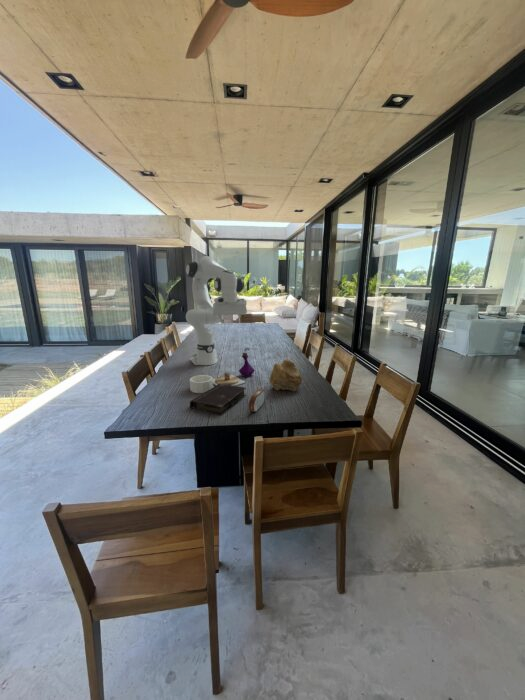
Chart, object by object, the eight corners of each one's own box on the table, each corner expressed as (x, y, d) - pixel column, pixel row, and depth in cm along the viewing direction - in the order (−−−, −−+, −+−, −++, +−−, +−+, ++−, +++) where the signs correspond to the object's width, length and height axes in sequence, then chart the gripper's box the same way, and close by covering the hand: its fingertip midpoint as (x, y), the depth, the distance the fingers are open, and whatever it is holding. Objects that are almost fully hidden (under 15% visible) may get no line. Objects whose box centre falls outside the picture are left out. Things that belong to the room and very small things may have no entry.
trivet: (208, 380, 177) (208, 380, 177) (231, 375, 186) (231, 374, 186) (222, 389, 165) (222, 388, 165) (245, 383, 174) (245, 382, 174)
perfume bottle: (247, 378, 182) (247, 350, 178) (238, 375, 186) (237, 348, 182) (255, 375, 188) (255, 347, 183) (246, 372, 192) (245, 345, 188)
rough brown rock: (293, 399, 154) (296, 372, 150) (264, 391, 161) (267, 365, 157) (307, 386, 174) (310, 362, 170) (281, 379, 181) (284, 356, 177)
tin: (260, 401, 149) (260, 385, 147) (266, 402, 148) (266, 386, 146) (248, 414, 136) (248, 397, 134) (254, 415, 135) (254, 398, 132)
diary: (189, 409, 141) (188, 399, 140) (217, 391, 163) (217, 382, 162) (222, 416, 134) (222, 406, 133) (247, 396, 156) (247, 387, 155)
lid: (211, 380, 177) (210, 372, 175) (231, 375, 185) (231, 368, 184) (222, 387, 166) (222, 378, 165) (243, 382, 174) (243, 373, 173)
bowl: (187, 387, 166) (186, 377, 165) (206, 383, 173) (206, 373, 172) (196, 394, 157) (195, 384, 155) (216, 389, 164) (216, 379, 162)
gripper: (244, 298, 179) (245, 320, 182) (211, 299, 172) (212, 322, 175) (248, 298, 173) (248, 322, 176) (213, 299, 166) (214, 323, 169)
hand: (230, 322), depth 176 cm, fingers open, 8 cm apart
